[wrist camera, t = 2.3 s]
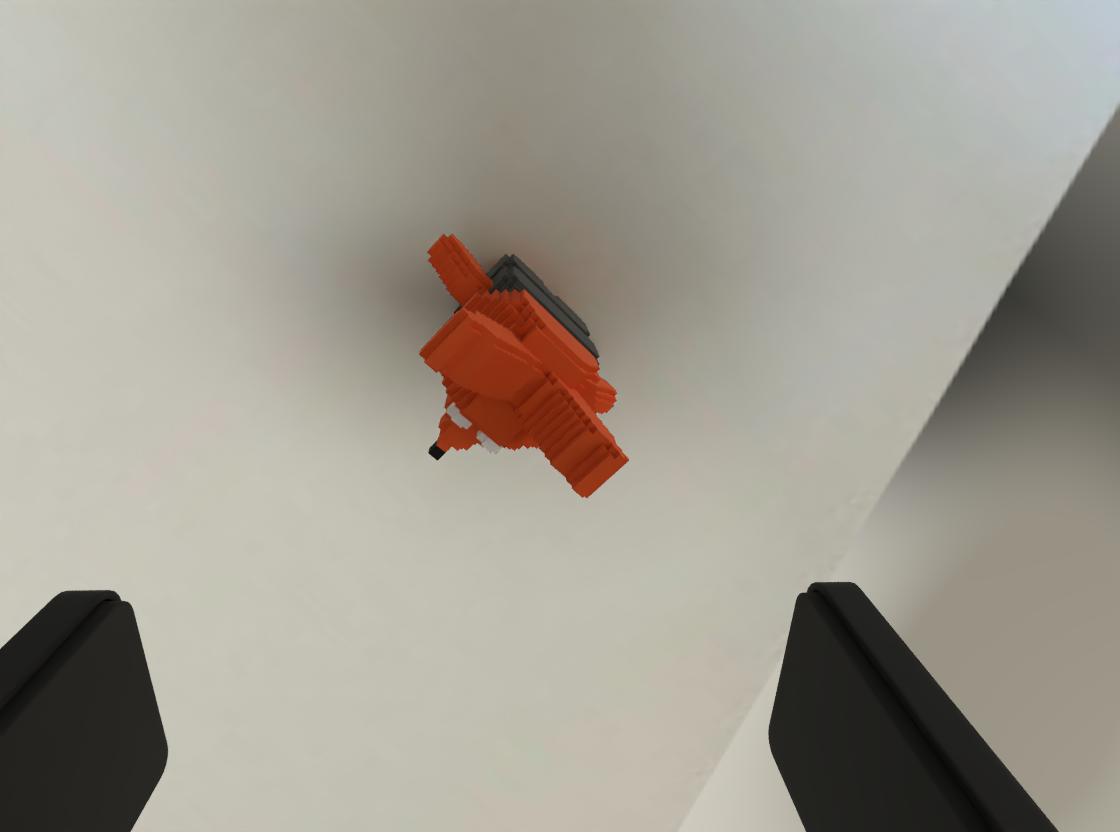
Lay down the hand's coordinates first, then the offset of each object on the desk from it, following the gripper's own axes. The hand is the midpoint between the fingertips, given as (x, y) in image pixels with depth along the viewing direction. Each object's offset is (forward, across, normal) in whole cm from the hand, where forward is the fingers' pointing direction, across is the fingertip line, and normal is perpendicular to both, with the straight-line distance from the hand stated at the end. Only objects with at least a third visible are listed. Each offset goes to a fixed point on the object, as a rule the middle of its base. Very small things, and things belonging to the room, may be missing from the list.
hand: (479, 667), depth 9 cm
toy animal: (+19, 0, 0) cm, 19 cm away
